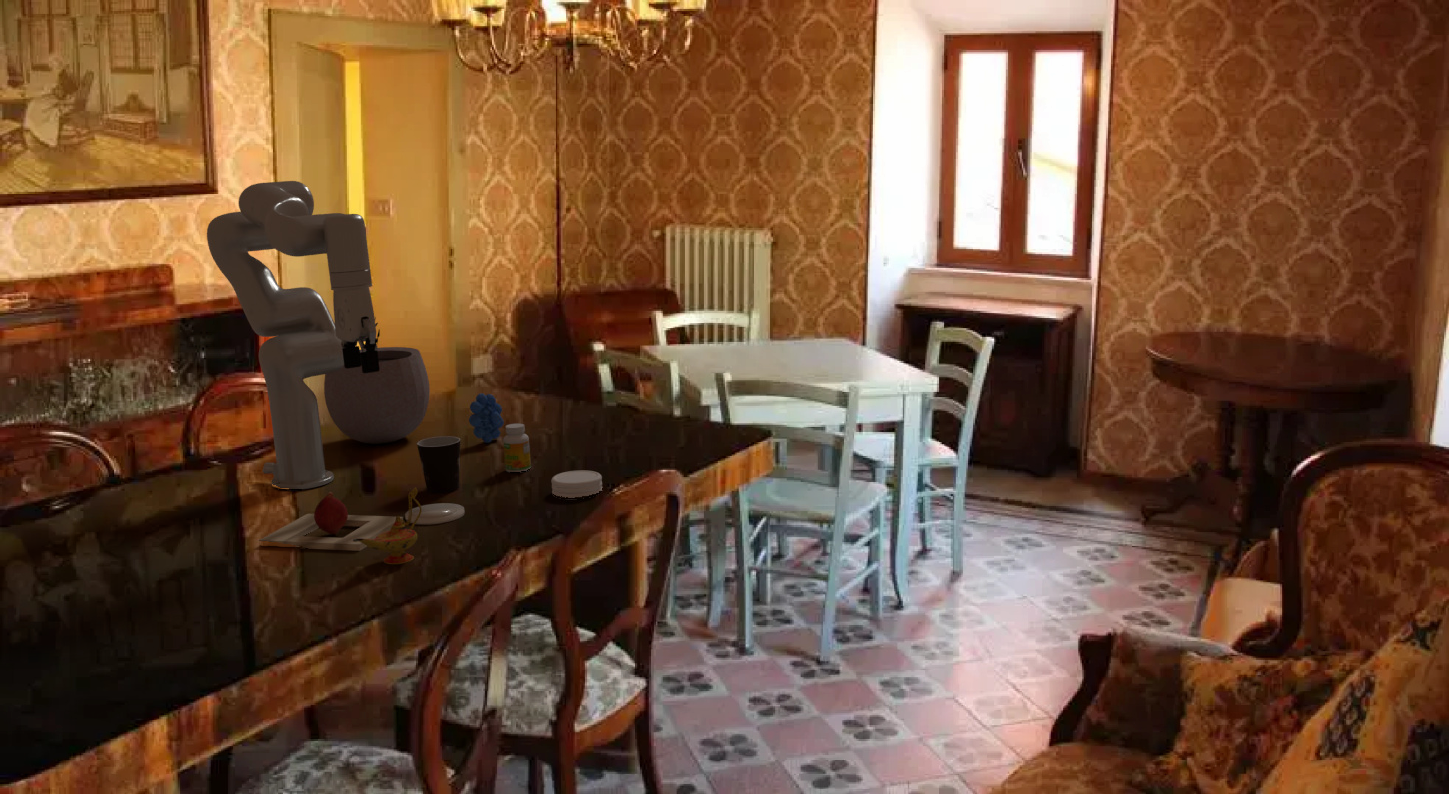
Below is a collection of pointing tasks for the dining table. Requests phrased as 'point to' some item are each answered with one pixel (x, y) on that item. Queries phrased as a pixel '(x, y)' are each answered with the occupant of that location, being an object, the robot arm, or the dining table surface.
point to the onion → (330, 514)
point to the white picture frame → (307, 524)
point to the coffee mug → (440, 463)
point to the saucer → (436, 513)
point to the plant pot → (380, 396)
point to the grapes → (486, 417)
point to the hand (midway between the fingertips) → (362, 369)
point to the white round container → (576, 483)
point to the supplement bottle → (516, 449)
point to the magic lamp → (396, 538)
